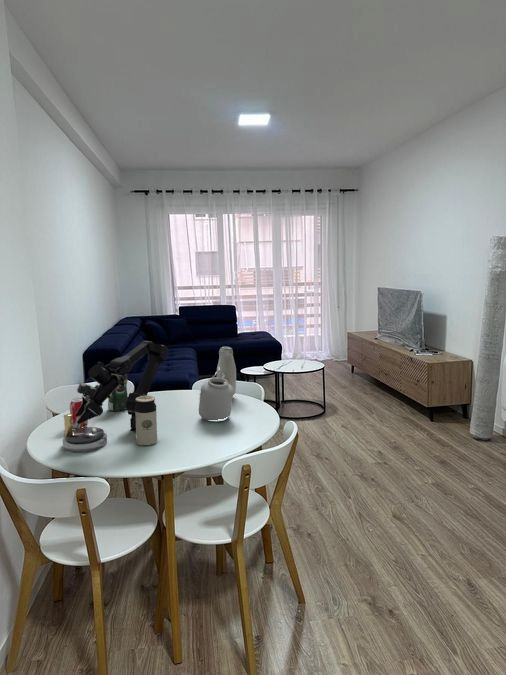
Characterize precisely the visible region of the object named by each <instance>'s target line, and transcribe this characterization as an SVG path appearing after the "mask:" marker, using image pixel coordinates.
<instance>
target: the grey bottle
mask: <svg viewBox="0 0 506 675" xmlns="http://www.w3.org/2000/svg"><path fill="white" fill-rule="evenodd" d="M233 350H234V349H233V348H232V347H230V346H222V347H220V349H219V351H218V355H219V357H218V358H219V359H218V363H217V367H216V372H217V373H216V378H222V377H223V379H225V380H227V381H228V384H230V385H231V386H232V387H233V395H234V394H235V395H236V392H237V368H236V363H235V359H234V351H233ZM219 369H220V370H219ZM235 395H234V396H235Z"/></svg>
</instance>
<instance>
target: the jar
mask: <svg viewBox="0 0 506 675" xmlns="http://www.w3.org/2000/svg"><path fill="white" fill-rule="evenodd" d="M219 370H220V369H219ZM214 376H217V371H216V372H215V374H214V375H213V376H212V377H210V378H209V379H208V380H207V381H205V382H203V383H202V385H200V386H201V387H200V395H199V401H198V402H199V404H198V414H199V416H200V417H201V418H202V419H204V420H205V419H206V420H205V421H207V420H218V419H224V418H226V417H228V416H229V418H231V412H232V407H233V406H232V405H233V397H234V396H233V387H232V386H231V385H230V384H228V381H227V380H225V379H223V377H222V378H217V377H214Z"/></svg>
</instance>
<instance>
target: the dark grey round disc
mask: <svg viewBox="0 0 506 675" xmlns="http://www.w3.org/2000/svg"><path fill="white" fill-rule="evenodd" d="M107 444H108V436H107V433H105V432H104V437H103V438H101V439H100V440H97V441H95V442H91V443H85V444H72V443H68V442H66V440H65V437H64V438H63V439H62V449H63V450H64V451H66V452H68V453H73V454H74V453H77V454H78V453H80V454H81V453H87V452H88V453H89V452H93V451H96V450H99V449H102V448H104V447H105V446H106V445H107Z"/></svg>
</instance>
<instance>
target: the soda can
mask: <svg viewBox="0 0 506 675" xmlns="http://www.w3.org/2000/svg"><path fill="white" fill-rule="evenodd" d="M81 404H82V397H76V398H72V399H71V401H70V403H69V414H72V415H73V429H79V428H82V427H83V428H85V427H87V426H88V423H89V420H87V421H85V422H82V423H80V424H78V423H77V421H78V419H79V418H80V416H81V415H80V416H78V417H76V416H75V414H76V413H77V411H78V409H79V407H80V406H81Z"/></svg>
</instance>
